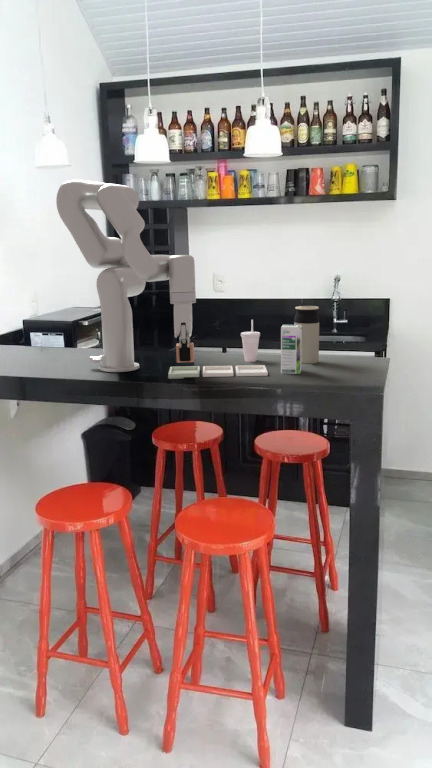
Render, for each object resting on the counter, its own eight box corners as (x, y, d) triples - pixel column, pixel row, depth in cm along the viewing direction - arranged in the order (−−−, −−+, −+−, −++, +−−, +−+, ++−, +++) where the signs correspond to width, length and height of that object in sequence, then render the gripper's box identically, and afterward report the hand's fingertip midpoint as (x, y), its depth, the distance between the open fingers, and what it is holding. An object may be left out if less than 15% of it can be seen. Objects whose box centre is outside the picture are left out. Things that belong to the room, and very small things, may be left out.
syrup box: (280, 374, 192) (280, 326, 189) (282, 371, 198) (283, 323, 195) (299, 375, 191) (300, 326, 188) (301, 371, 197) (302, 324, 194)
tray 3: (236, 377, 189) (236, 372, 189) (235, 370, 200) (235, 365, 200) (267, 377, 189) (267, 372, 189) (264, 369, 200) (264, 365, 200)
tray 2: (202, 378, 189) (202, 373, 189) (203, 370, 200) (202, 366, 200) (233, 377, 189) (233, 372, 189) (232, 370, 200) (232, 365, 200)
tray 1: (168, 378, 189) (168, 373, 189) (170, 371, 200) (170, 366, 199) (199, 378, 189) (199, 373, 189) (199, 370, 200) (199, 366, 200)
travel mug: (314, 359, 216) (315, 305, 212) (321, 364, 208) (322, 307, 204) (290, 360, 215) (291, 306, 211) (297, 365, 207) (298, 308, 203)
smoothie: (258, 364, 209) (258, 320, 206) (239, 363, 211) (239, 320, 208) (261, 360, 216) (261, 318, 213) (242, 360, 217) (242, 318, 214)
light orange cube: (176, 362, 191) (176, 345, 190) (177, 359, 196) (176, 343, 195) (193, 362, 191) (193, 345, 190) (194, 359, 196) (193, 342, 195)
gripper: (171, 296, 198) (174, 355, 202) (168, 300, 181) (171, 364, 185) (196, 295, 198) (198, 354, 202) (195, 300, 181) (197, 364, 185)
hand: (185, 358), depth 193 cm, fingers closed on light orange cube, 5 cm apart
